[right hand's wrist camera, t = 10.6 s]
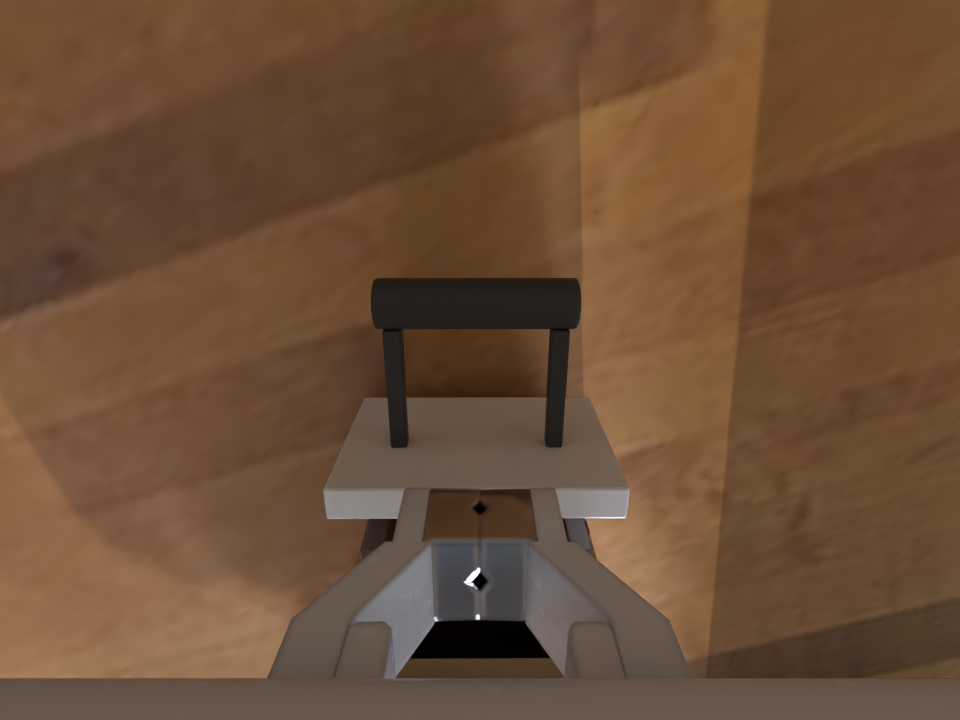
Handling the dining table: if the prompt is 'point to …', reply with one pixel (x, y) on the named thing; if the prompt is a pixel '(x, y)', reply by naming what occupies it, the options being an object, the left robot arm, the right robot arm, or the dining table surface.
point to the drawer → (475, 434)
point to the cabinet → (481, 664)
